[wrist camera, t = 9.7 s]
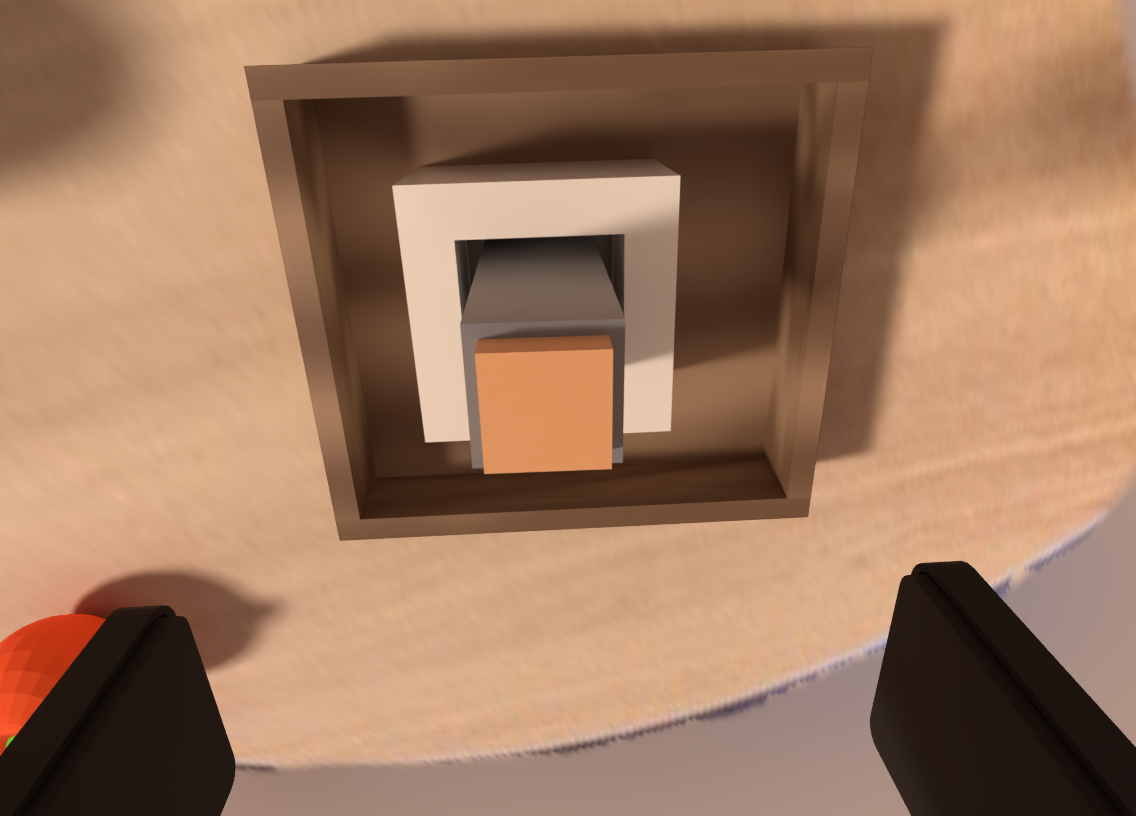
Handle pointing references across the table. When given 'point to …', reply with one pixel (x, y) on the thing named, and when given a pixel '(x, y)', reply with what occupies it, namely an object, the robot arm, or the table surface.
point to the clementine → (38, 665)
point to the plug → (543, 358)
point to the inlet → (527, 211)
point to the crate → (703, 285)
